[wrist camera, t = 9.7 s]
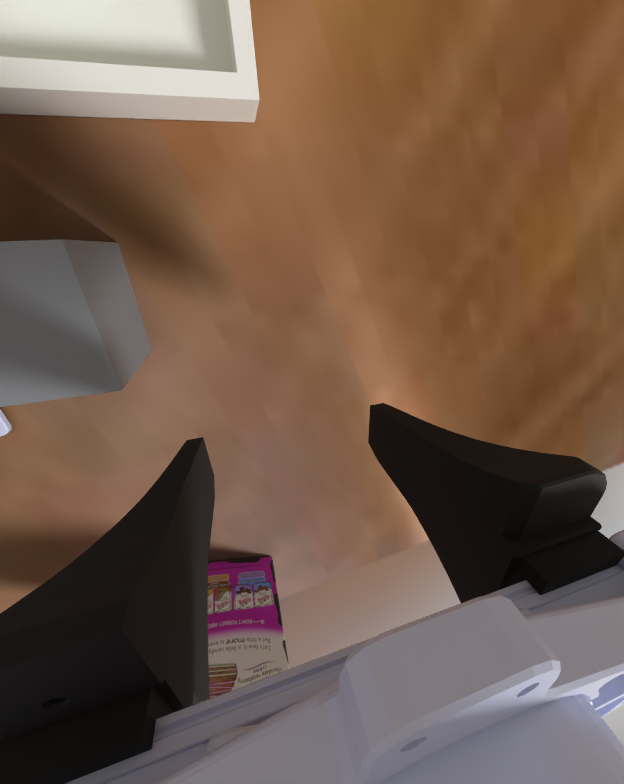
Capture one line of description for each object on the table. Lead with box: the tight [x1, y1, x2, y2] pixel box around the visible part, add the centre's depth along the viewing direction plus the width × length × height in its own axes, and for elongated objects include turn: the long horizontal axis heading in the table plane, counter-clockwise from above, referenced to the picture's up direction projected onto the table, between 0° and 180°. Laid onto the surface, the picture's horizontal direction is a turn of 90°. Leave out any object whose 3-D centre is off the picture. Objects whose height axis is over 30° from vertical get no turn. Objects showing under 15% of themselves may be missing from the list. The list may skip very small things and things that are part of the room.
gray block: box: [0, 239, 152, 407], centre depth 13 cm, size 6×6×6 cm
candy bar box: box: [208, 557, 289, 699], centre depth 22 cm, size 11×5×16 cm, turn 75°
